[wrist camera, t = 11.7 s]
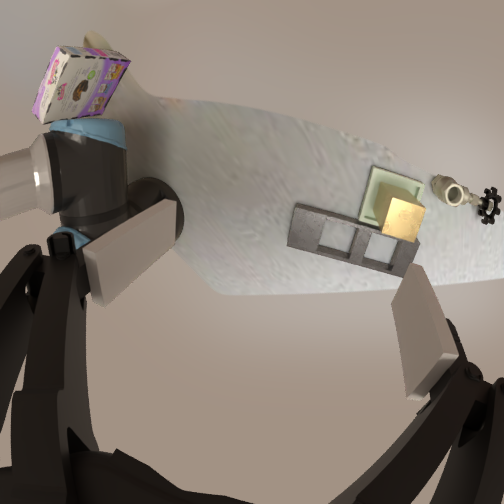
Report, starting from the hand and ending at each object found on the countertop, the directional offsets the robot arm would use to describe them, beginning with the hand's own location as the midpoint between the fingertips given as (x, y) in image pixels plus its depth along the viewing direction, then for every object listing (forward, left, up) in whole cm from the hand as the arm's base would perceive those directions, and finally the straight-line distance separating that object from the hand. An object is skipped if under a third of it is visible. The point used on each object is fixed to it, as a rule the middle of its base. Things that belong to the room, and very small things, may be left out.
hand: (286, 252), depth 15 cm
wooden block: (+13, -2, -32) cm, 35 cm away
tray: (+13, -2, -33) cm, 35 cm away
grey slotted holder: (+9, -11, -33) cm, 36 cm away
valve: (+25, +3, -33) cm, 42 cm away
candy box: (-44, +11, -33) cm, 56 cm away
